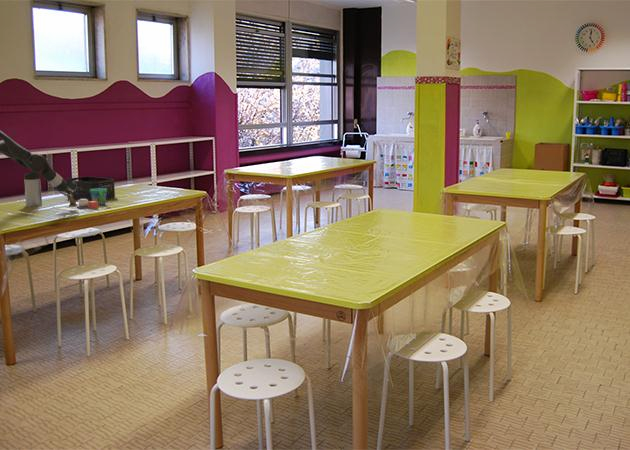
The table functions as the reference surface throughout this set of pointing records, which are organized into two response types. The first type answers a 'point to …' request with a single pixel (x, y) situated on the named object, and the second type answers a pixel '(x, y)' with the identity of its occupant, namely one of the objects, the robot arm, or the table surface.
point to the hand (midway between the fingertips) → (75, 199)
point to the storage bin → (91, 186)
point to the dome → (83, 202)
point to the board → (90, 205)
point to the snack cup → (99, 195)
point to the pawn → (72, 202)
